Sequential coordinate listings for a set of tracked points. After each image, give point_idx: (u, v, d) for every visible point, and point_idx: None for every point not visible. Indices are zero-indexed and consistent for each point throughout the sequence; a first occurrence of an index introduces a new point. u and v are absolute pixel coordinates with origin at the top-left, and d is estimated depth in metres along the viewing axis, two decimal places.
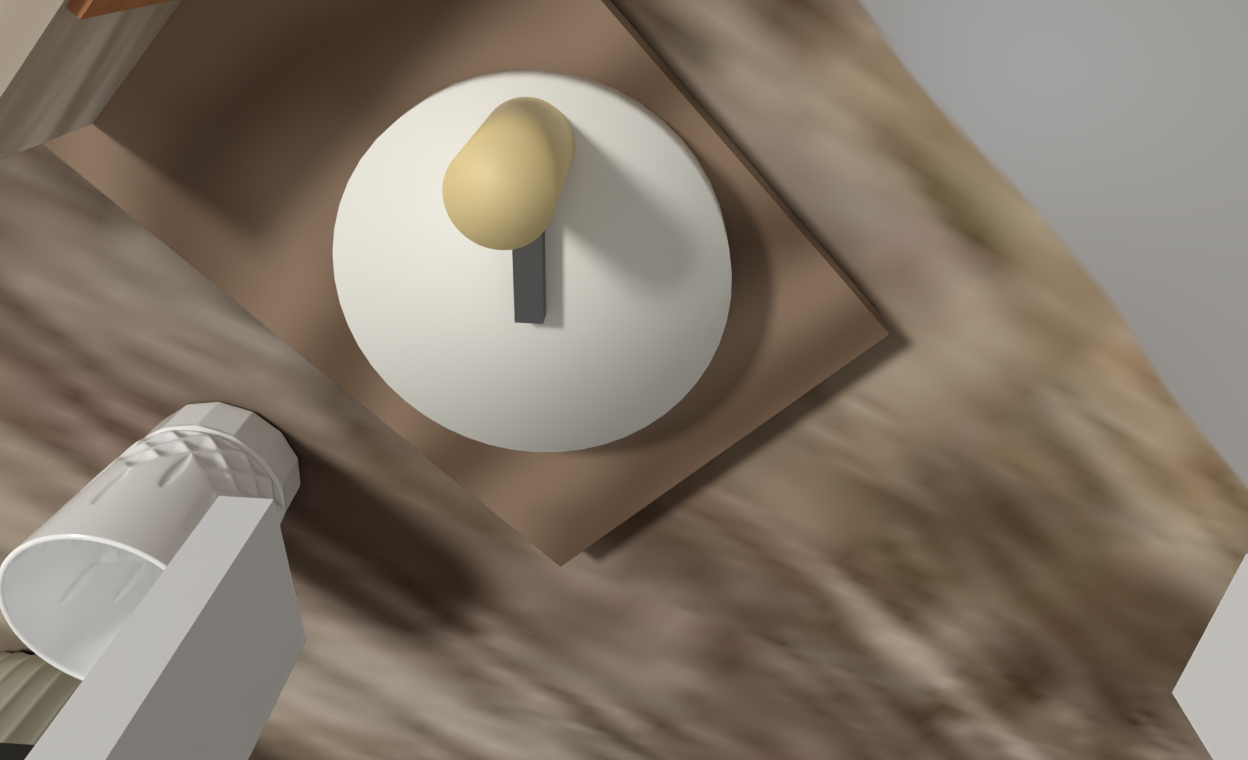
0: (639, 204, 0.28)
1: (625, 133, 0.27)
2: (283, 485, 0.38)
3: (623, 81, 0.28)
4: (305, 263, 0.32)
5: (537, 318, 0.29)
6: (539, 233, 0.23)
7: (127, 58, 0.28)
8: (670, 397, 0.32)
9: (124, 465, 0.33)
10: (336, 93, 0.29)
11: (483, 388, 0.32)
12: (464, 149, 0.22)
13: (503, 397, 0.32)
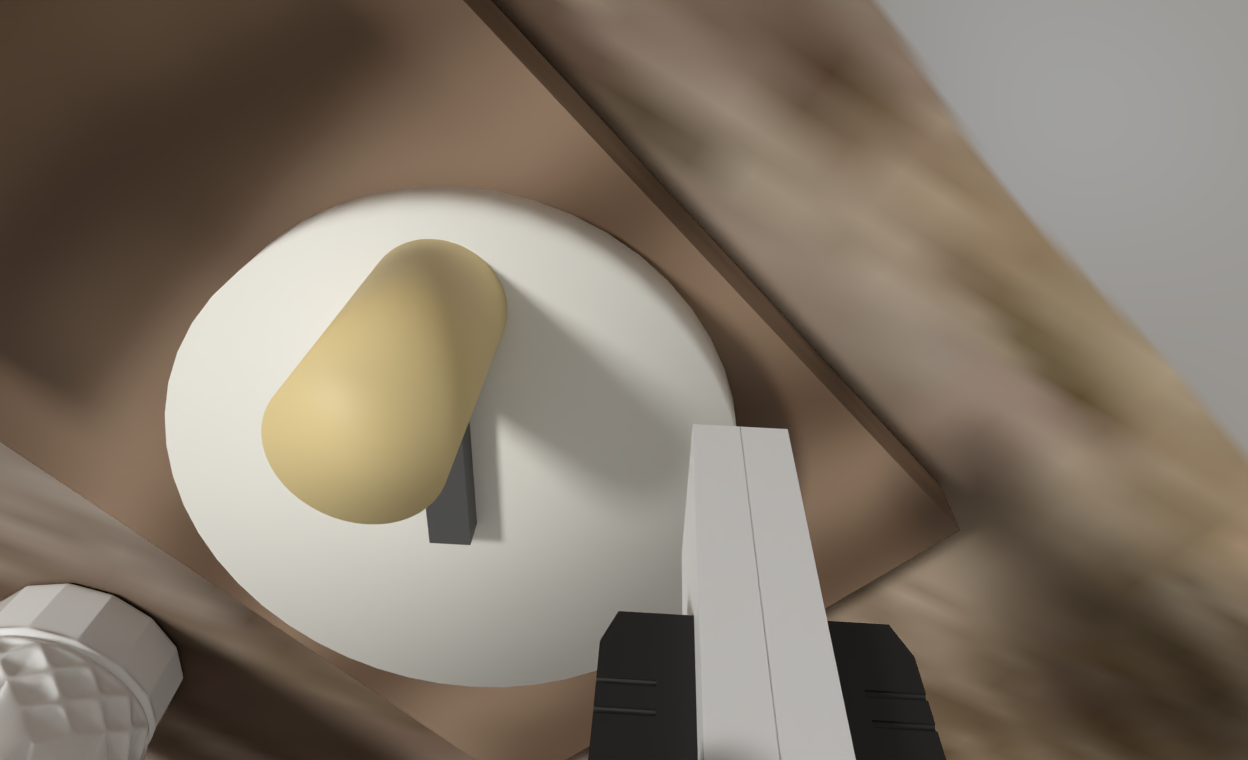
0: (607, 385, 0.19)
1: (582, 289, 0.18)
2: (150, 694, 0.29)
3: (582, 202, 0.19)
4: (149, 435, 0.23)
5: (462, 538, 0.20)
6: (428, 502, 0.14)
7: None
8: None
9: None
10: (166, 217, 0.20)
11: (395, 611, 0.23)
12: (291, 380, 0.13)
13: (423, 622, 0.23)
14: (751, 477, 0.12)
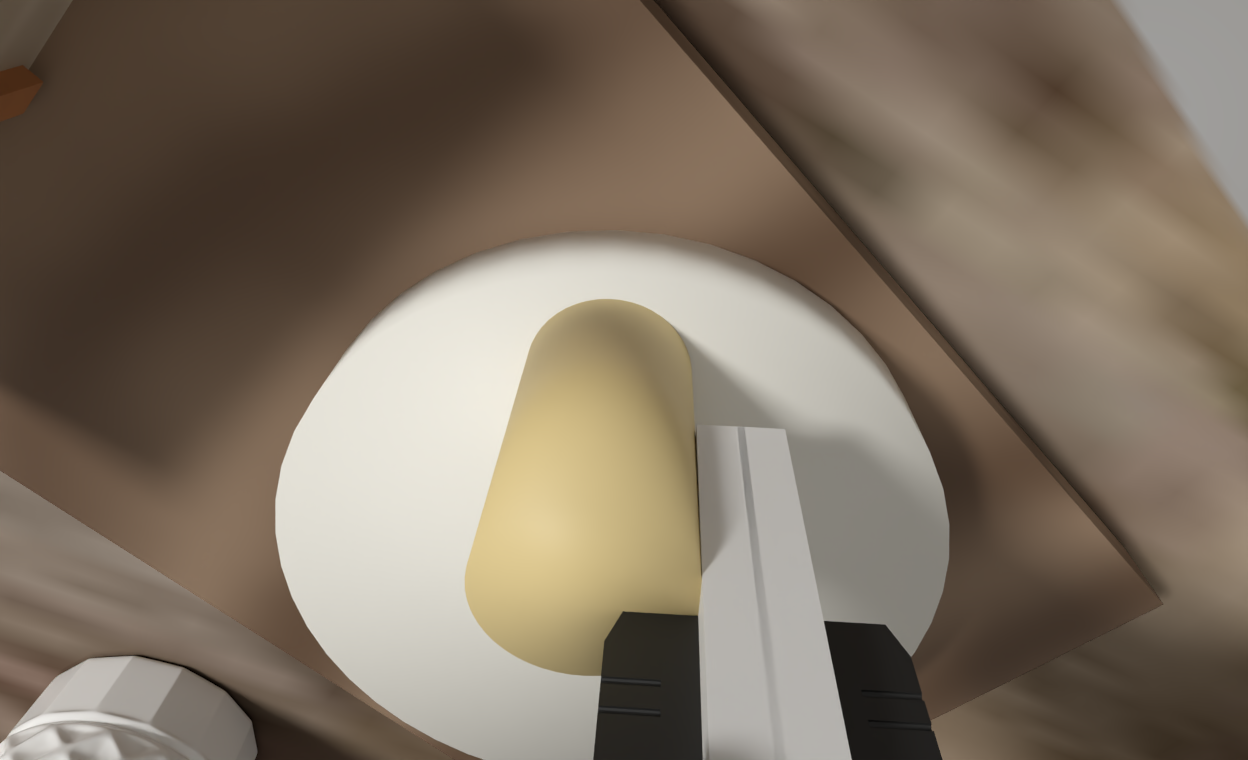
0: (801, 462, 0.16)
1: (784, 354, 0.15)
2: None
3: (769, 246, 0.16)
4: (241, 508, 0.20)
5: None
6: None
7: None
8: None
9: None
10: (275, 266, 0.17)
11: (527, 707, 0.20)
12: (512, 514, 0.10)
13: (559, 718, 0.20)
14: (749, 477, 0.12)
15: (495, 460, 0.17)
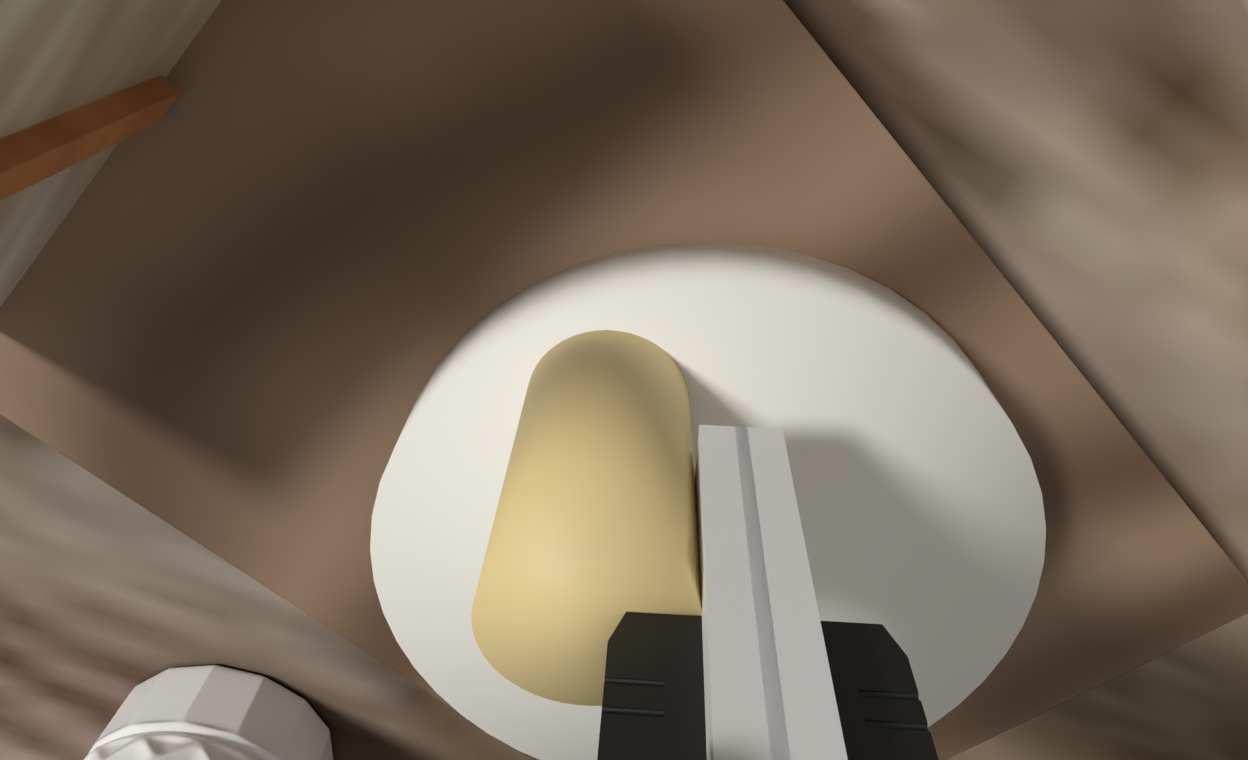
0: (828, 417, 0.16)
1: (760, 323, 0.15)
2: None
3: (900, 251, 0.16)
4: (345, 517, 0.20)
5: None
6: None
7: (34, 234, 0.16)
8: (985, 657, 0.19)
9: None
10: (399, 275, 0.17)
11: None
12: (486, 578, 0.11)
13: None
14: (746, 477, 0.12)
15: None
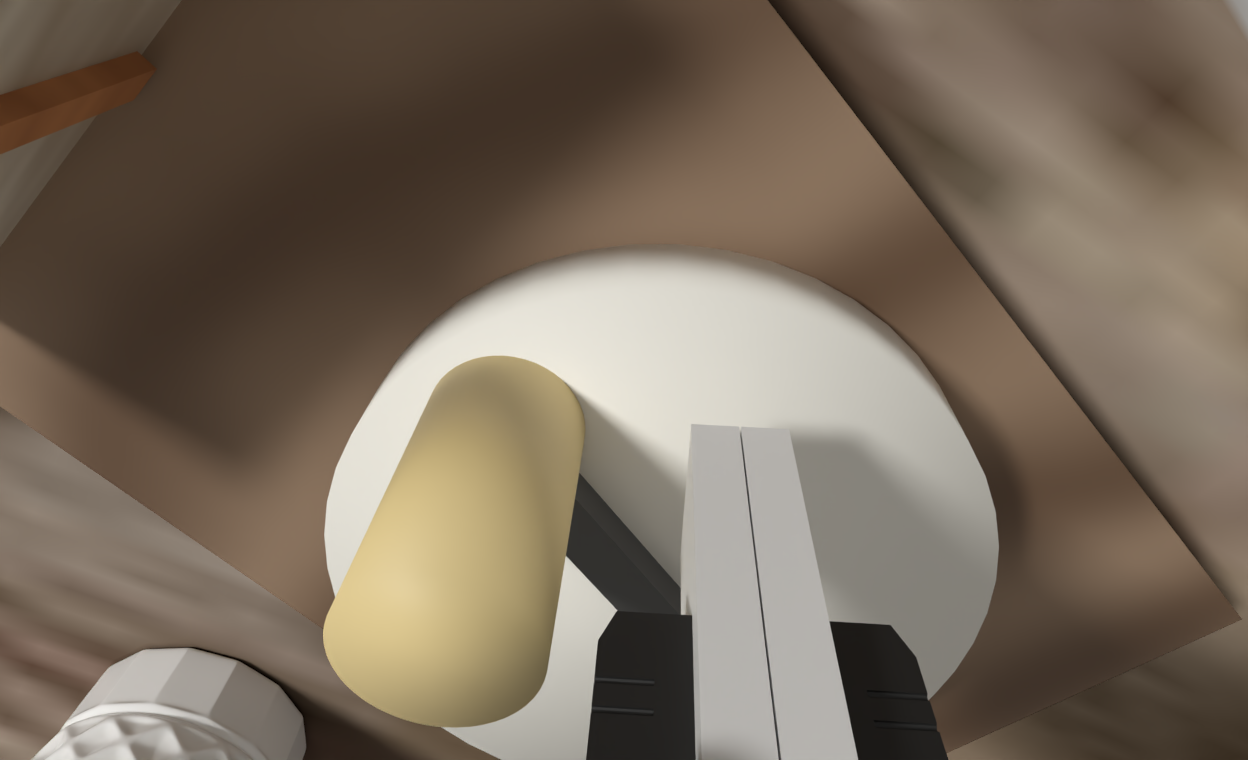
0: (723, 402, 0.16)
1: (625, 323, 0.15)
2: None
3: (877, 251, 0.16)
4: (318, 502, 0.20)
5: None
6: (543, 666, 0.11)
7: (8, 207, 0.16)
8: (966, 618, 0.18)
9: None
10: (374, 260, 0.17)
11: None
12: (327, 620, 0.11)
13: None
14: (753, 478, 0.12)
15: None
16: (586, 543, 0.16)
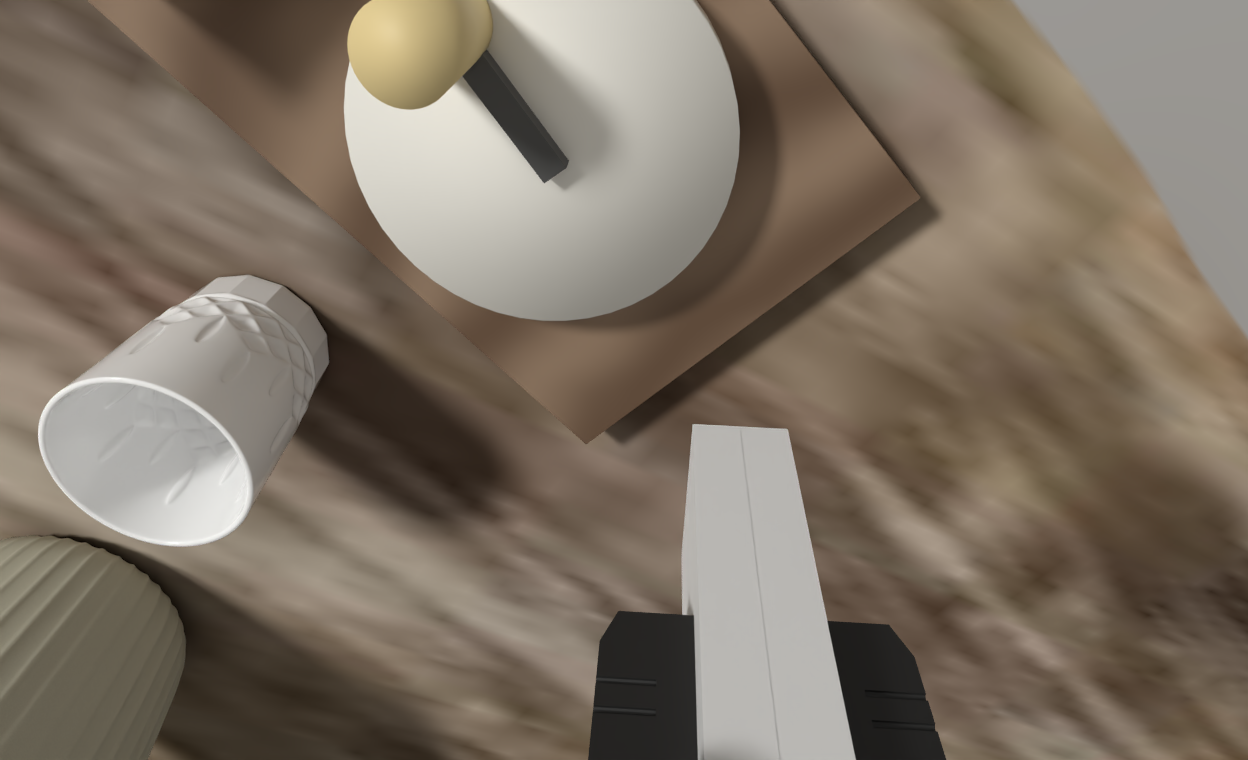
0: (569, 1, 0.28)
1: None
2: (313, 357, 0.38)
3: None
4: (338, 120, 0.32)
5: (558, 166, 0.30)
6: (453, 61, 0.23)
7: None
8: (727, 161, 0.30)
9: (160, 324, 0.33)
10: None
11: (569, 264, 0.32)
12: (349, 33, 0.23)
13: (590, 261, 0.32)
14: (751, 477, 0.12)
15: (439, 111, 0.30)
16: (495, 94, 0.28)
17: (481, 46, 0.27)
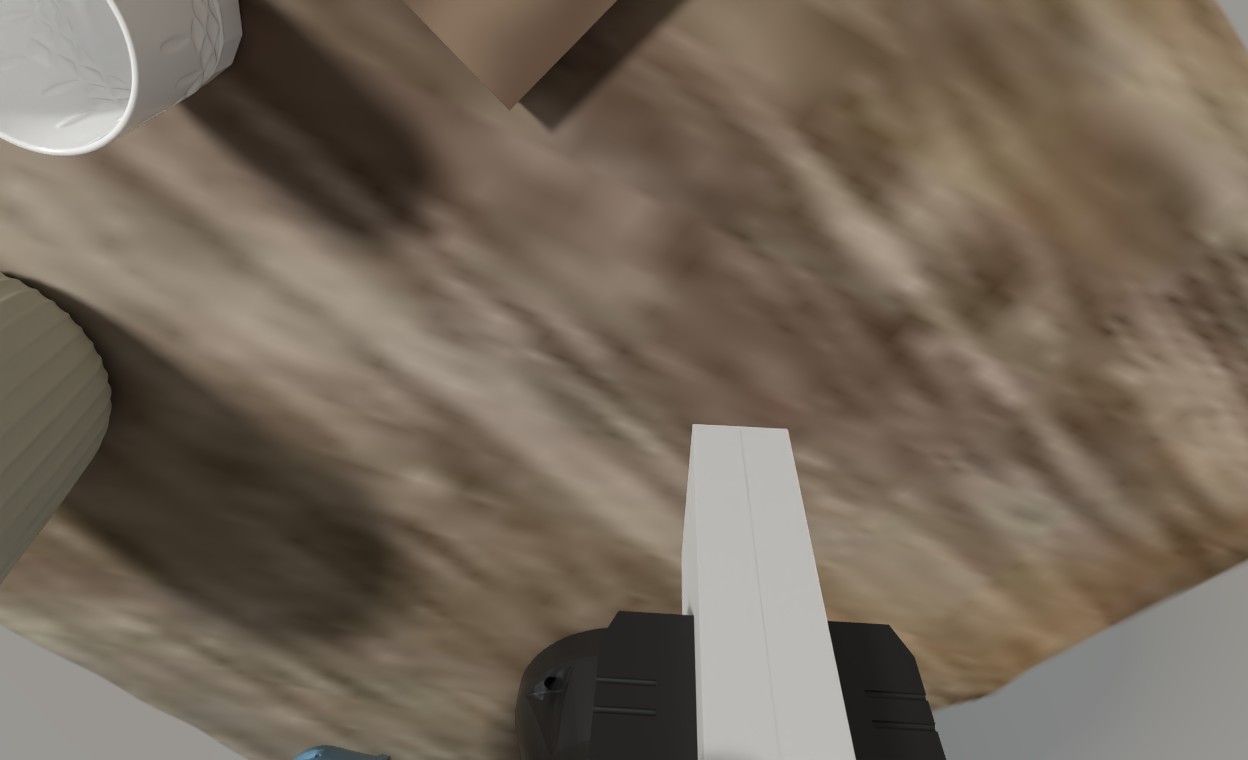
0: None
1: None
2: (220, 6, 0.36)
3: None
4: None
5: None
6: None
7: None
8: None
9: None
10: None
11: None
12: None
13: None
14: (752, 477, 0.12)
15: None
16: None
17: None
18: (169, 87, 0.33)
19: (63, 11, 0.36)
